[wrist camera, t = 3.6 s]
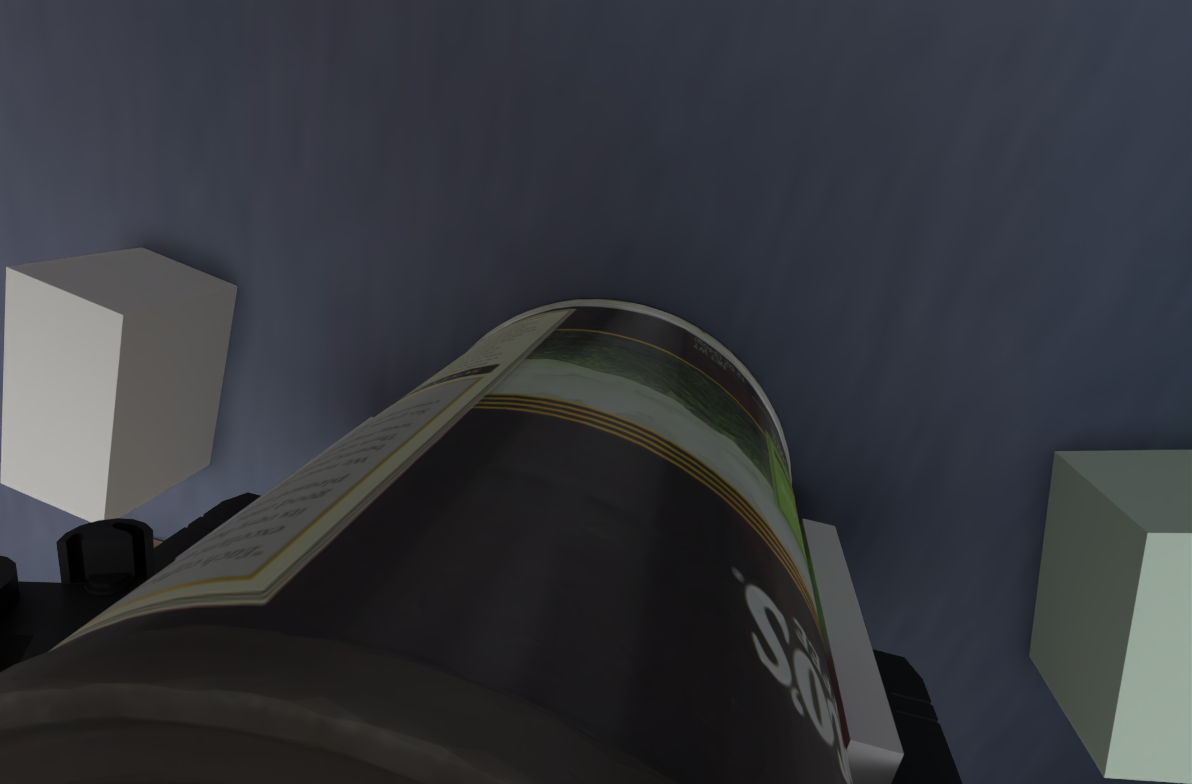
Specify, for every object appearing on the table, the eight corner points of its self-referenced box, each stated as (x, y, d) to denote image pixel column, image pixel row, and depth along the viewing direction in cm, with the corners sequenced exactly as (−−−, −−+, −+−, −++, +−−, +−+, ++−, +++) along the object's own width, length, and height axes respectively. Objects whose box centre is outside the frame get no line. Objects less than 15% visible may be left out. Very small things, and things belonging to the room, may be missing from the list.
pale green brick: (1052, 449, 17) (1147, 532, 13) (1193, 447, 16) (1335, 534, 12) (1027, 653, 19) (1104, 777, 15) (1152, 658, 18) (1265, 789, 14)
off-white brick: (144, 246, 19) (6, 266, 16) (240, 285, 19) (123, 315, 15) (126, 427, 21) (0, 483, 18) (212, 463, 21) (103, 527, 18)
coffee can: (790, 280, 16) (1059, 764, 3) (791, 640, 20) (931, 1627, 6) (394, 304, 18) (-431, 664, 5) (453, 627, 22) (28, 1360, 8)
